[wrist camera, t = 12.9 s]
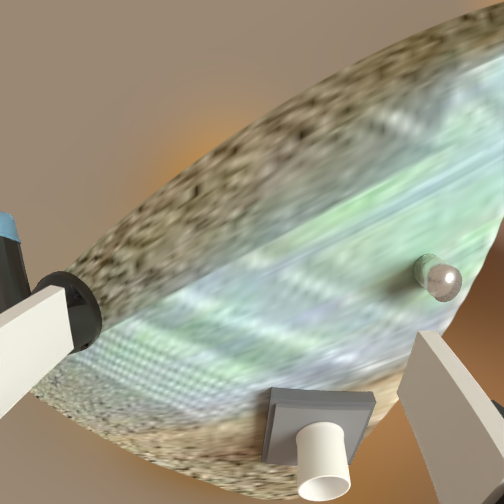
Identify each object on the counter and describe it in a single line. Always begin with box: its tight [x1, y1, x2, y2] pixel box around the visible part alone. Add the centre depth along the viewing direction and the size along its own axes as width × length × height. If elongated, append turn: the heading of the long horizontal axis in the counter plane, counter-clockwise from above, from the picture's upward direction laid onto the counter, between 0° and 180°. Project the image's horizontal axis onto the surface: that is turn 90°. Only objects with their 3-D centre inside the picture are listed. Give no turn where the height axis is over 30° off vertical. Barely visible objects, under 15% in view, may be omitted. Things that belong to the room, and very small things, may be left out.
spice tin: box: [413, 254, 462, 302], centre depth 40 cm, size 5×5×7 cm
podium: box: [261, 387, 376, 466], centre depth 50 cm, size 18×18×4 cm
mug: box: [296, 422, 351, 501], centre depth 43 cm, size 12×8×12 cm
